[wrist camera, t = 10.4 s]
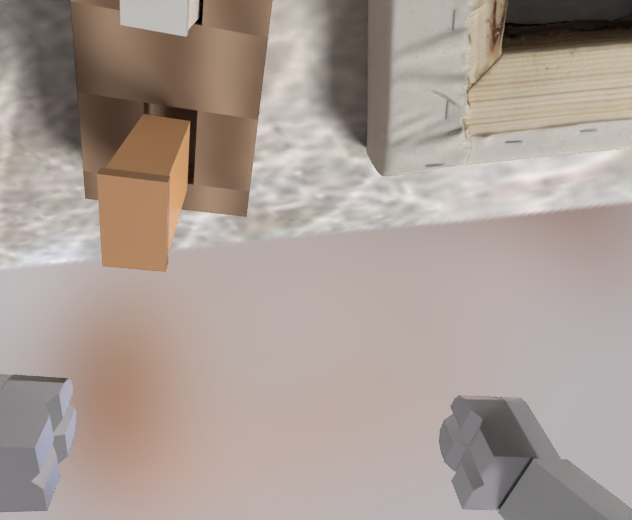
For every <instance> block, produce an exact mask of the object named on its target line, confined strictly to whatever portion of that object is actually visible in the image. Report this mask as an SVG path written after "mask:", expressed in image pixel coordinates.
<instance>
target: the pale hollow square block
mask: <svg viewBox="0 0 632 520" xmlns="http://www.w3.org/2000/svg"><path fill="white" fill-rule="evenodd" d="M507 5H508V0H368V99H367V147H366V150H367V153H368V156H369V158H370V160H371V162H372V164H373V165H374V167H375V168H376V170H377V171H378V172H379V173H380V174H381V175H382V176H396V175H404V174H411V173H417V172H422V171H426V170H431V169H436V168H443V167H452V166H461V165H471V164H480V163H490V162H499V161H509V160H519V159H529V158H538V157H548V156H558V155H568V154H577V153H587V152H598V151H607V150H618V149H627V148H632V20H631V19H632V14H631V15H629V16H627V17H624V18H621V19H617V20H613V21H609V20H574V21H564V22H554V23H547V24H516V23H508V22H505V18H506V12H507ZM504 26H509V27H506V28H504Z"/></svg>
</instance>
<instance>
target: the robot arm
mask: <svg viewBox="0 0 632 520" xmlns="http://www.w3.org/2000/svg"><path fill="white" fill-rule="evenodd" d="M73 392H74V390H73V384H72V380H71V379H69V378H55V377H40V376H26V375H5V374H0V512H18V511H19V512H21V511H47V509H48V507H49V504H50V501H51V499H52V496H53V494H54V491H55V489H56V486H57V483H58V481H59V478H60V475H59V468H58V464H59V463H60V462H61V461H62V460H63V459H65V458H66V457H67V456H68V454H69V451H70V448H71V446H72V443H73V439H74V434H75V429H76V408H75V406H74V405H73V404H71V403H70V400H71V397H72V395H73ZM451 409H452V411H453V414H452V415H451V416H449V417H448V418H446V419H445V420H444V422H443V424H442V426H441V429H440V437H439V444H440V449H441V453H442V456H443V459H444V462H445V463H446V464H447V465H448V466H449V467H450V468H451V469H452V470H453V471H454V475H453V478H452V483H453V486H454V488H455V491H456V493H457V496H458V499H459V501H460V503H461V507H462V509H474V510H499V511H498V513H499V514H500V515H501V516H502V517H503V518H504V519H505V520H632V509H631V508H630V507H629V506H627V505H626V504H625V503H623V502H622V501H620V499H618V498H617V497H616V496H614V495H613V494H612V493H610V492H609V491H608V490H606V489H605V488H604V487H603V486H601V485H600V484H598V483H597V482H596V481H595V480H593V479H592V478H591V477H589V476H588V475H587V474H585V473H584V472H583V471H582V470H580V469H579V468H578V467H576V466H575V465H574V464H573V463H571V462H570V461H569V460H565V459H561V458H560V456H559V455H558V453H557V452H556V450H555V448H554V447H553V445H552V443H551V442H550V440H549V439H548V437H547V435H546V434H545V432H544V430H543V429H542V427H541V426H540V424H539V422H538V421H537V419H536V417H535V416H534V414H533V413H532V411H531V409H530V408H529V406H528V405H527V403H526V402H525V401H524V400H523V399H521V398H513V397H489V396H461V395H460V396H458V397H456V398H455V399H454V401H453V403H452V405H451Z"/></svg>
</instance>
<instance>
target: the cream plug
mask: <svg viewBox="0 0 632 520" xmlns="http://www.w3.org/2000/svg"><path fill="white" fill-rule="evenodd" d="M203 1H204V0H120V25H124V26H129V27H135V28H140V29H146V30H151V31H157V32H162V33H168V34H174V35H179V36H185V37H186V36H187V35H188V30H189V28H190V27H191V26H192V25H193V24H194V23H195V22H196V21H197V20H198V19H199V17H200V16H201V15H202V14H203Z"/></svg>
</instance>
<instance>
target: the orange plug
mask: <svg viewBox="0 0 632 520" xmlns="http://www.w3.org/2000/svg"><path fill="white" fill-rule="evenodd" d="M189 138H190V121H187V120H180V119H173V118H166V117H159V116H153V115H146V114H143V115H142V117H141V118H140V119H139V121H138V122H137V124H136V125H135V127H134V128H133V129H132V131H131V132H130V134H129V135H128V136H127V138H126V139H125V141H124V142H123V143H122V145H121V146H120V148H119V149H118V151H117V152H116V153H115V155H114V156H113V158H112V159H111V160H110V162H109V163H108V165H107V166H106V167H105V168H101V169H100V170H99V172H98V173H97V183H98V200H99V216H100V233H101V250H102V266H107V267H118V268H130V269H140V270H151V271H163V272H166V269H167V265H168V253H169V250H170V247H171V243H172V240H173V236H174V233H175V230H176V226H177V223H178V219H179V216H180V212H181V209H182V205H183V202H184V199H185V195H186V192H187V182H188V160H189Z"/></svg>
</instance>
